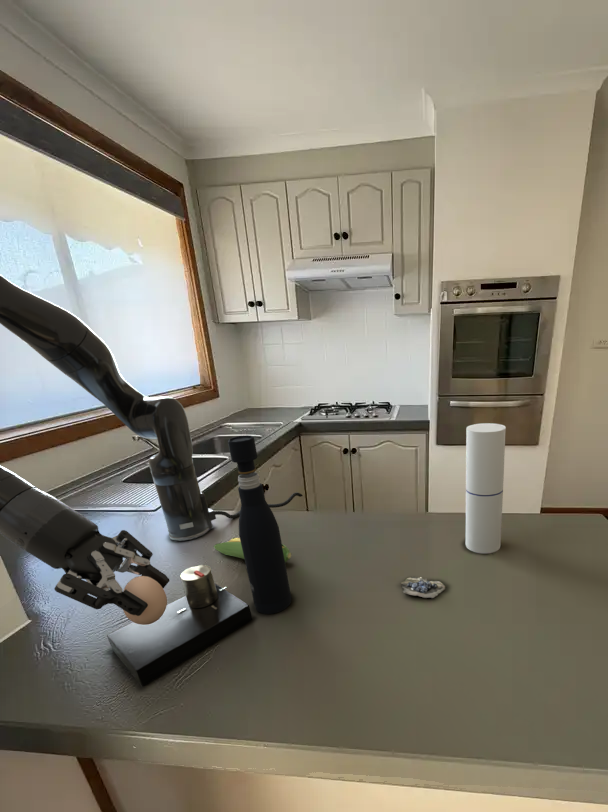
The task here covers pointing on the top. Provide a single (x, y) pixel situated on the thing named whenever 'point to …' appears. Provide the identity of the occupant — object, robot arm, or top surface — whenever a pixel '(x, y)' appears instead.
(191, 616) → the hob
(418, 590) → the blueberries
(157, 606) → the egg
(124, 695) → the top surface
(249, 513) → the dark water bottle
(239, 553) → the edible corn
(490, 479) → the cylindrical container
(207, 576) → the stove knob
